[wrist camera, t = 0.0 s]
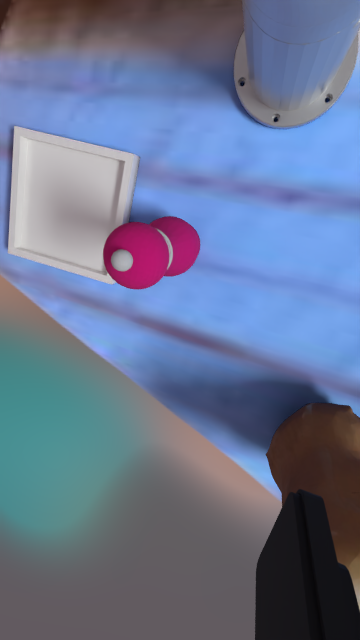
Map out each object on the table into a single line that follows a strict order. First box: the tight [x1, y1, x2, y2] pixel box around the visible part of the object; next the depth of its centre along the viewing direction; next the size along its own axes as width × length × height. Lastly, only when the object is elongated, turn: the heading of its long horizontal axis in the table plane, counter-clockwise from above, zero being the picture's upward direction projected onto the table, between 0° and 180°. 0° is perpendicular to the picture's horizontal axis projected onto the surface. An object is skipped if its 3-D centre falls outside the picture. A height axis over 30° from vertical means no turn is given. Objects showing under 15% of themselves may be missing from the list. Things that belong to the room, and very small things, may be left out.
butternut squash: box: [266, 403, 360, 609], centre depth 35 cm, size 14×13×25 cm
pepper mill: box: [103, 216, 200, 289], centre depth 35 cm, size 7×7×20 cm
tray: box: [8, 126, 140, 284], centre depth 45 cm, size 17×17×2 cm
